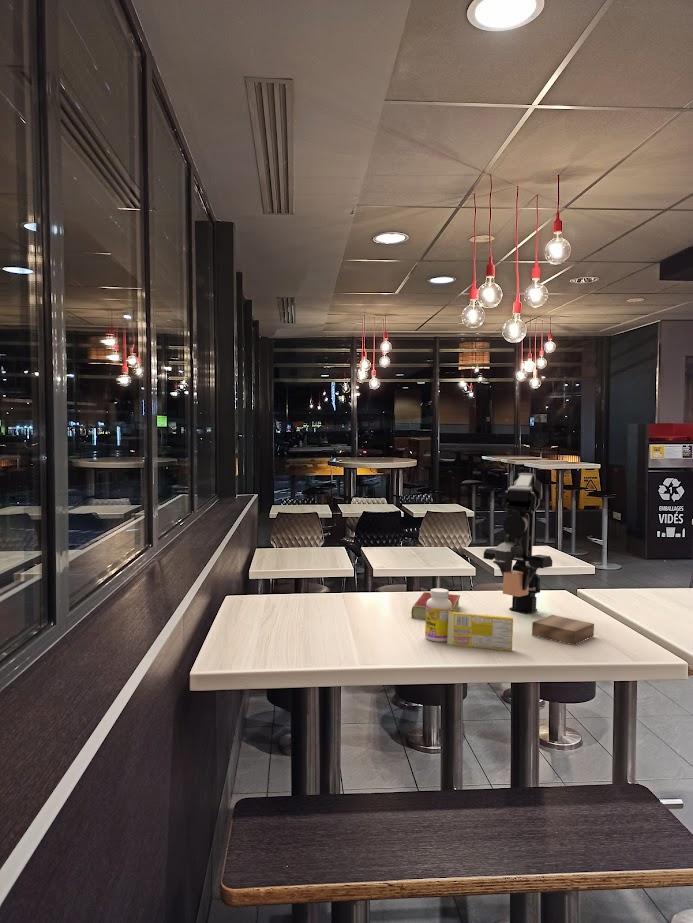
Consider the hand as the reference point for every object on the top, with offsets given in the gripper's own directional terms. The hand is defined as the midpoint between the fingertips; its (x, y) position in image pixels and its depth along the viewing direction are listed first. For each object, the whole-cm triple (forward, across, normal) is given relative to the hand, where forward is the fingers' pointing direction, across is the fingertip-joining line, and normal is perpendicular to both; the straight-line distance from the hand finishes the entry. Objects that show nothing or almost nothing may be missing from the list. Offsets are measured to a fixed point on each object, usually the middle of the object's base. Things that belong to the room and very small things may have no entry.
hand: (515, 588), depth 188 cm
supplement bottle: (+12, -8, -24) cm, 28 cm away
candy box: (+12, +3, -21) cm, 24 cm away
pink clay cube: (+2, 0, 0) cm, 2 cm away
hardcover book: (+12, -27, -1) cm, 29 cm away
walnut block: (+12, +11, +6) cm, 18 cm away
